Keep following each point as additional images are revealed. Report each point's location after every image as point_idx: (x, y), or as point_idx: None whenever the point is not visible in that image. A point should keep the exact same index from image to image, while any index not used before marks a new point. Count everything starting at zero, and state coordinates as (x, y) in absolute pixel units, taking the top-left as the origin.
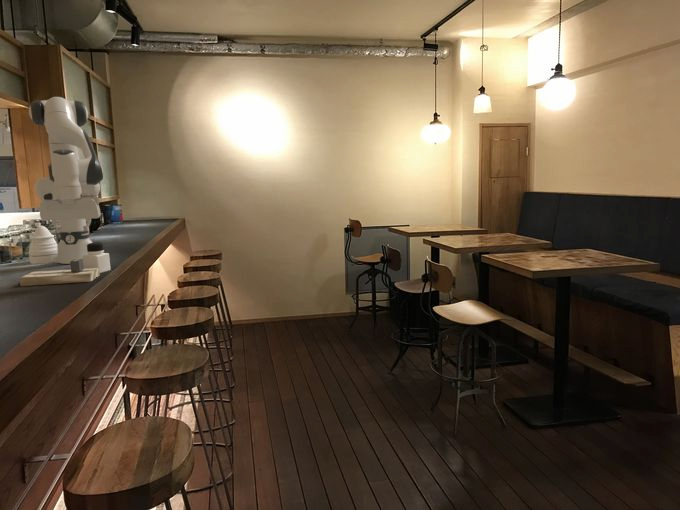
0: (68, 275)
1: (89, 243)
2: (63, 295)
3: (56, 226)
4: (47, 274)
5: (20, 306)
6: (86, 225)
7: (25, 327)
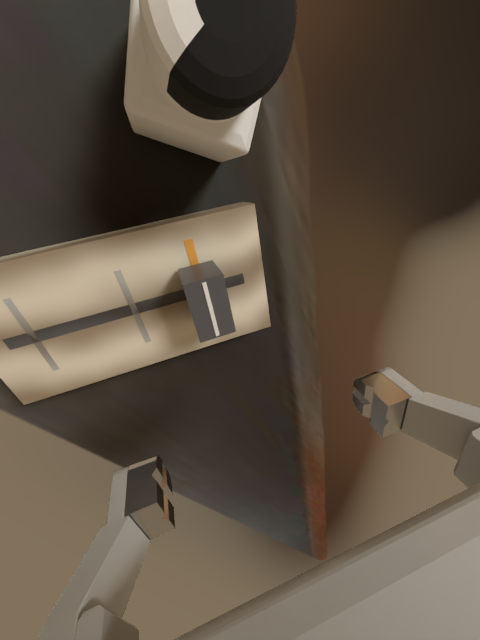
0: (202, 346)
1: (192, 43)
2: (262, 434)
3: (137, 562)
4: (99, 344)
5: (224, 494)
6: (416, 433)
7: (293, 529)
